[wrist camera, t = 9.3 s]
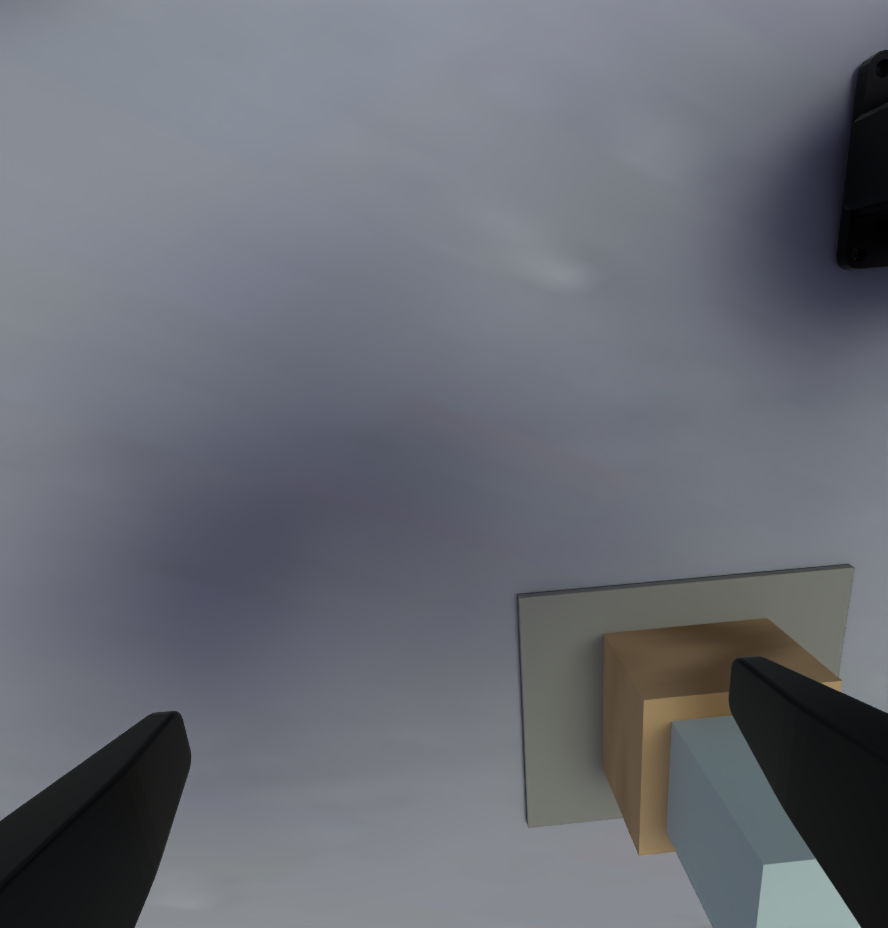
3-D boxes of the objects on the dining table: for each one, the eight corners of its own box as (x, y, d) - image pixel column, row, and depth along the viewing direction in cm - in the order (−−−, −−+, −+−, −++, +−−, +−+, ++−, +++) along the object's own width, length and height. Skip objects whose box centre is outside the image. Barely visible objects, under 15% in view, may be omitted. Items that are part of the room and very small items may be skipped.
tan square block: (767, 617, 22) (841, 680, 18) (753, 753, 24) (818, 836, 20) (603, 633, 22) (643, 700, 18) (602, 768, 24) (638, 855, 20)
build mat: (848, 564, 22) (854, 567, 21) (816, 792, 25) (820, 797, 25) (517, 594, 21) (519, 598, 21) (527, 821, 25) (528, 827, 24)
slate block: (811, 707, 18) (952, 844, 13) (796, 818, 20) (920, 979, 15) (671, 721, 18) (763, 864, 13) (666, 832, 19) (747, 998, 15)
